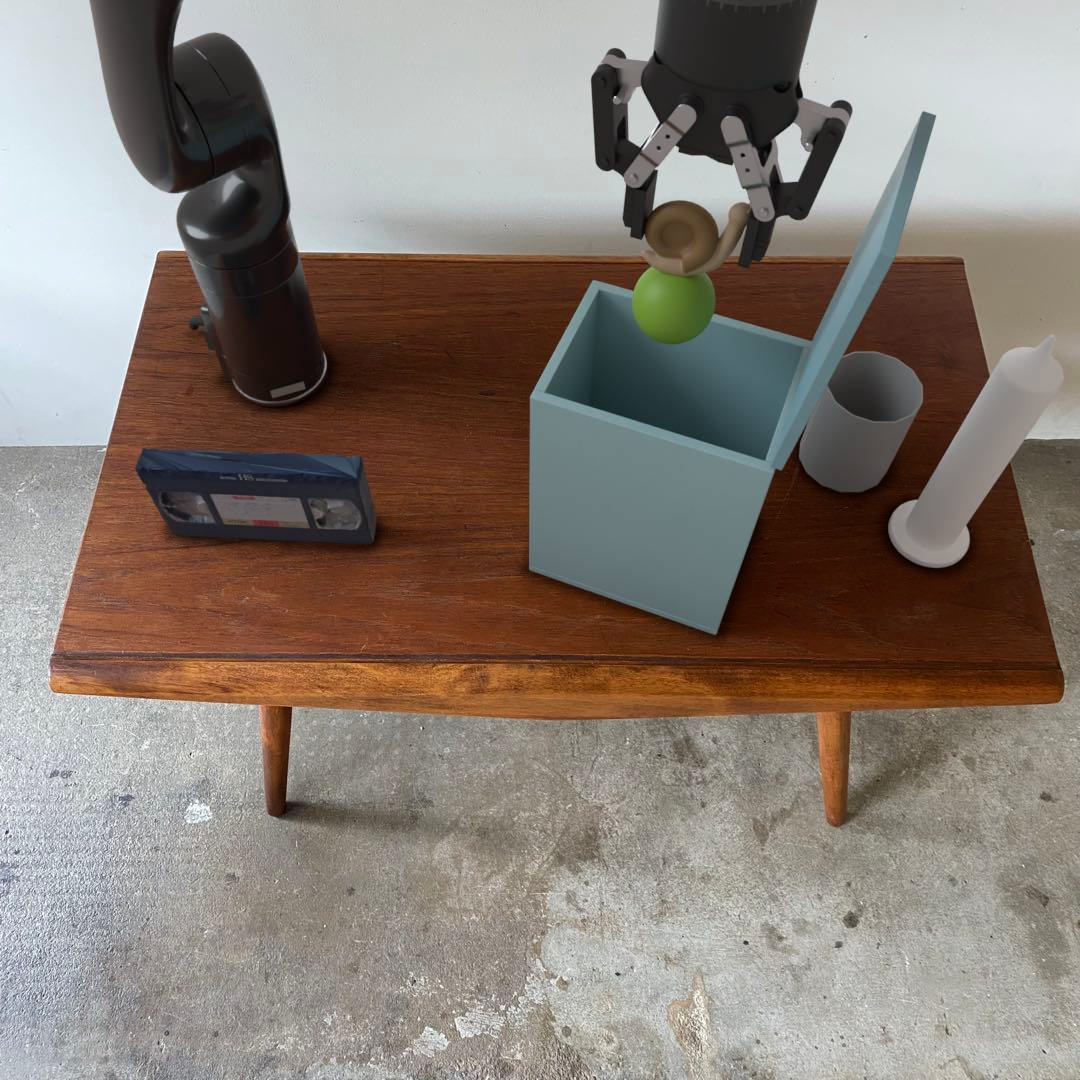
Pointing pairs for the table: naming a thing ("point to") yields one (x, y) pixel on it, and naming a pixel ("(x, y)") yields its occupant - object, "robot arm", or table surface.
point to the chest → (655, 456)
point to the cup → (860, 421)
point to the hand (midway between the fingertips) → (692, 243)
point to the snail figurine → (683, 268)
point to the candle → (977, 456)
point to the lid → (856, 288)
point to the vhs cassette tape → (260, 495)
